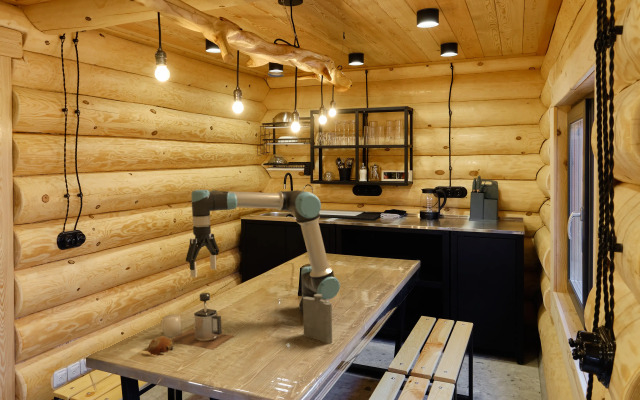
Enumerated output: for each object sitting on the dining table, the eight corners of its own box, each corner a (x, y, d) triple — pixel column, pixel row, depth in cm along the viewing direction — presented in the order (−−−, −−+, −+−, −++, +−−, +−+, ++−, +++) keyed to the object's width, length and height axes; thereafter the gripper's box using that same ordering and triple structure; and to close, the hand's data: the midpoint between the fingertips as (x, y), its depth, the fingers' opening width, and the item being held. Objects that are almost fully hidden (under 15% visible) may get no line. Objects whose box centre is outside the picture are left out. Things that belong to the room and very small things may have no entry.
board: (234, 338, 221) (234, 335, 221) (212, 352, 207) (212, 349, 206) (192, 330, 231) (192, 328, 231) (168, 343, 217) (168, 340, 217)
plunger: (217, 330, 222) (216, 292, 220) (207, 336, 215) (206, 297, 213) (205, 328, 225) (203, 291, 223) (194, 334, 218) (192, 295, 216)
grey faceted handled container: (227, 335, 221) (226, 310, 220) (213, 343, 212) (212, 317, 211) (204, 331, 227) (203, 306, 225) (190, 339, 218) (189, 313, 216)
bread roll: (167, 353, 216) (161, 335, 217) (180, 348, 210) (174, 330, 211) (147, 361, 207) (141, 343, 209) (161, 356, 202) (155, 337, 203)
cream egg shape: (185, 334, 227) (184, 315, 226) (173, 341, 219) (172, 321, 218) (169, 331, 230) (168, 313, 229) (157, 337, 223) (156, 318, 222)
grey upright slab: (302, 335, 223) (301, 292, 221) (308, 332, 226) (307, 290, 224) (329, 344, 213) (328, 299, 211) (335, 341, 216) (334, 297, 214)
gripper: (212, 220, 227) (214, 265, 230) (175, 229, 205) (177, 279, 207) (225, 221, 224) (227, 267, 226) (189, 230, 201) (192, 281, 204)
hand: (203, 273), depth 217 cm, fingers open, 13 cm apart
